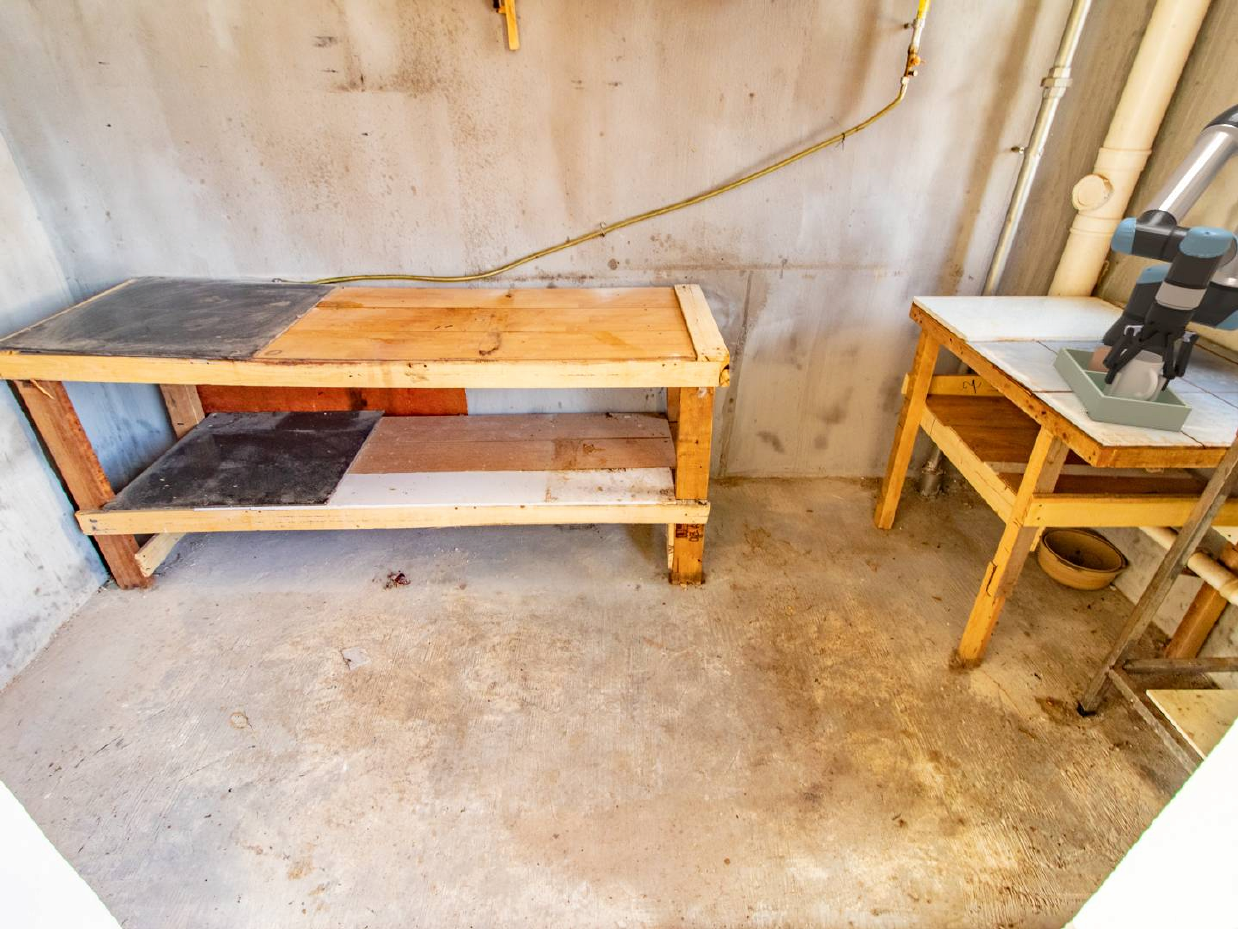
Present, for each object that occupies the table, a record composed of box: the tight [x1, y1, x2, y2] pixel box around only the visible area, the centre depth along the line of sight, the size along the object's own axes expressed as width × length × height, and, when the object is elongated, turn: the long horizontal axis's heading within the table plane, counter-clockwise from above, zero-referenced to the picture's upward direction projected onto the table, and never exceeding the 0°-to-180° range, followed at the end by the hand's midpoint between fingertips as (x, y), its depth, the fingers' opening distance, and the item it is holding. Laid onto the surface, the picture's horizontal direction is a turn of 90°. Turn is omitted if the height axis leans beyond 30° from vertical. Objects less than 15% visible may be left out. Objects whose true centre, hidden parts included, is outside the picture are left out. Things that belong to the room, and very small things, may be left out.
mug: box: [1111, 349, 1165, 401], centre depth 148 cm, size 12×8×10 cm
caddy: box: [1053, 347, 1193, 432], centre depth 157 cm, size 18×30×6 cm, turn 165°
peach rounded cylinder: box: [1087, 345, 1113, 373], centre depth 162 cm, size 8×8×8 cm
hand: (1127, 399), depth 151 cm, fingers closed on mug, 8 cm apart
